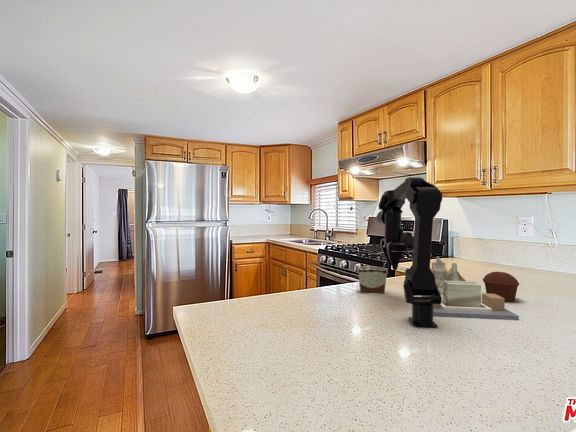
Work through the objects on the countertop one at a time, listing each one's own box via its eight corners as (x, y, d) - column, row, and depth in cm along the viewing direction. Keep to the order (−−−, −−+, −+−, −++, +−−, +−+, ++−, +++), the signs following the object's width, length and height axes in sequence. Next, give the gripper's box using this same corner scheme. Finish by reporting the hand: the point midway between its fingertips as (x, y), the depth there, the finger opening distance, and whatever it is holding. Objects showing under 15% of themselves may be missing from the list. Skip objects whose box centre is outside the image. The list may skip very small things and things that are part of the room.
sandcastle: (468, 297, 121) (467, 257, 122) (422, 293, 129) (421, 256, 130) (469, 291, 134) (467, 255, 135) (427, 287, 142) (426, 254, 143)
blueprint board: (518, 319, 96) (519, 302, 96) (425, 315, 99) (425, 299, 99) (493, 305, 110) (493, 290, 110) (412, 302, 114) (413, 287, 114)
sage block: (480, 309, 102) (481, 284, 102) (448, 308, 103) (448, 283, 103) (473, 305, 107) (474, 281, 106) (442, 303, 108) (442, 280, 108)
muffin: (526, 301, 116) (526, 274, 115) (506, 304, 111) (506, 276, 111) (494, 293, 127) (495, 269, 126) (475, 296, 122) (475, 270, 122)
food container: (385, 290, 132) (385, 266, 131) (388, 294, 125) (388, 268, 125) (355, 289, 133) (355, 265, 133) (356, 293, 127) (356, 268, 126)
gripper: (423, 226, 106) (422, 273, 106) (409, 224, 124) (408, 264, 124) (388, 226, 107) (388, 272, 107) (380, 224, 126) (379, 263, 126)
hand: (392, 267), depth 116 cm, fingers open, 9 cm apart
